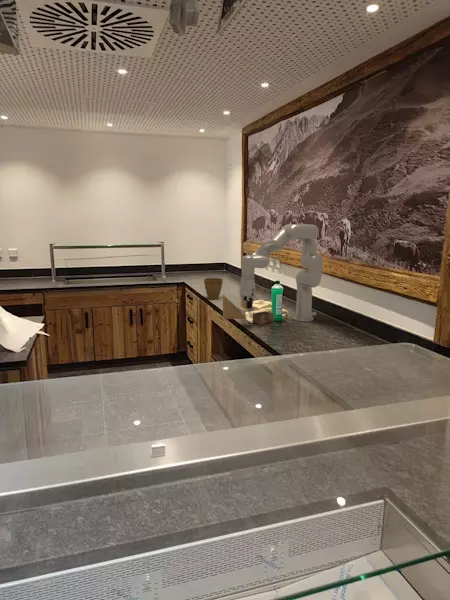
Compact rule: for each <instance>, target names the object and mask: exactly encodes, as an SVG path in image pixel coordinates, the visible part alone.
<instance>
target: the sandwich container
mask: <svg viewBox="0 0 450 600" xmlns="http://www.w3.org/2000/svg"><path fill="white" fill-rule="evenodd" d="M236 307H237V306H236V305H235V304H234V303H233V302H232V301H231V300H230V299H229V298H228V297H227V296H226V295H225V294H222V317H223V319H224V320H239V319H241V320H242V319H243V318H245V319H247V318H246V317H247V316H246V314H244V313H243V311H240V310H239V309H236Z"/></svg>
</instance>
